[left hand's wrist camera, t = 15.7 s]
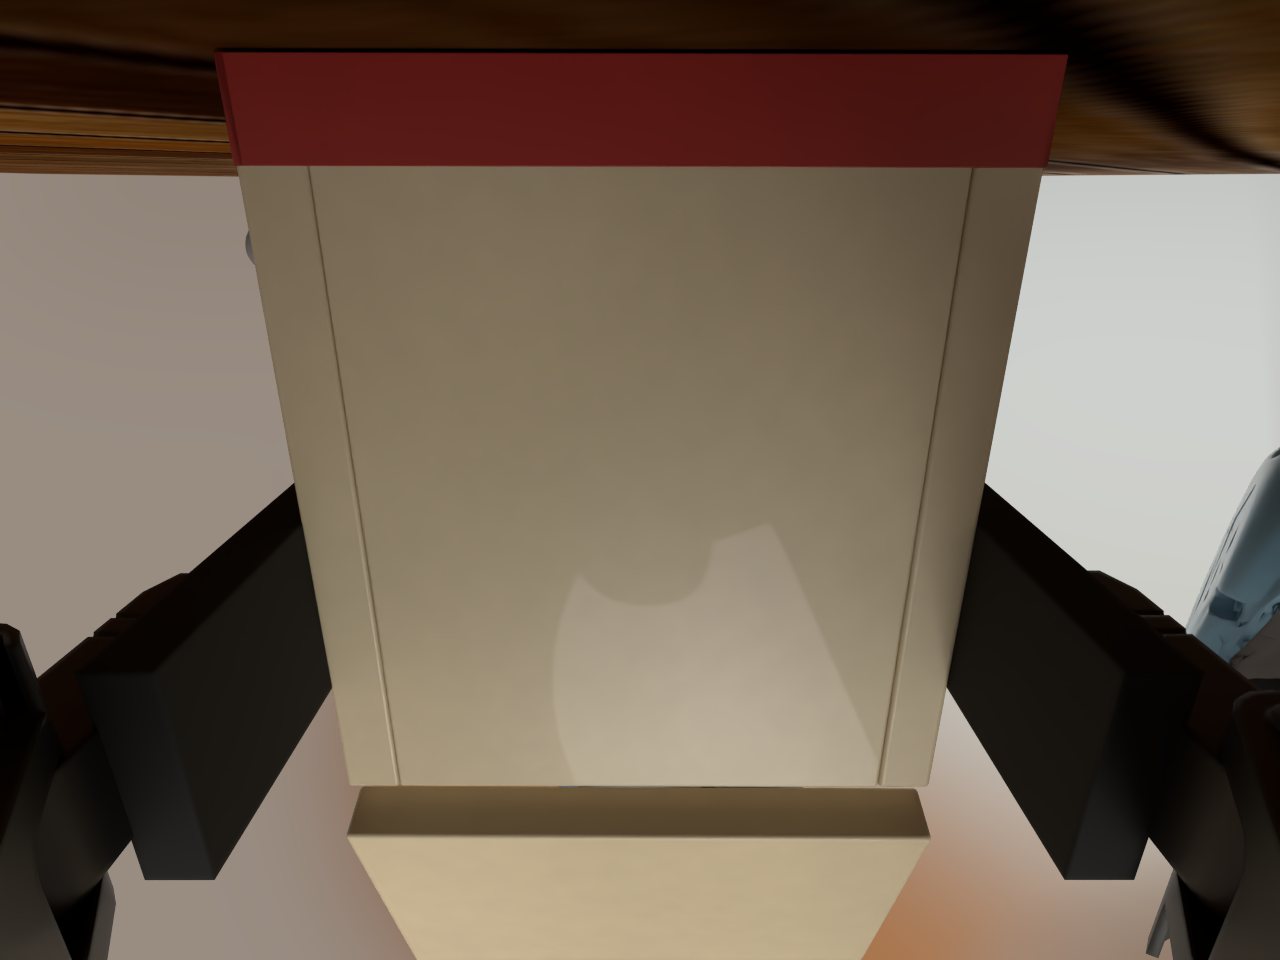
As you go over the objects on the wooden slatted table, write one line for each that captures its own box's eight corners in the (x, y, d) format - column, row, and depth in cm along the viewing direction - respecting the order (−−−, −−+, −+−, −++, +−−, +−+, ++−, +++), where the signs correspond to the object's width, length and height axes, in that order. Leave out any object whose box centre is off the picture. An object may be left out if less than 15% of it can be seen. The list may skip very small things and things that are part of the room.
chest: (784, 145, 24) (763, 444, 28) (498, 144, 24) (517, 443, 28) (1069, 54, 8) (930, 789, 12) (211, 51, 8) (347, 787, 12)
